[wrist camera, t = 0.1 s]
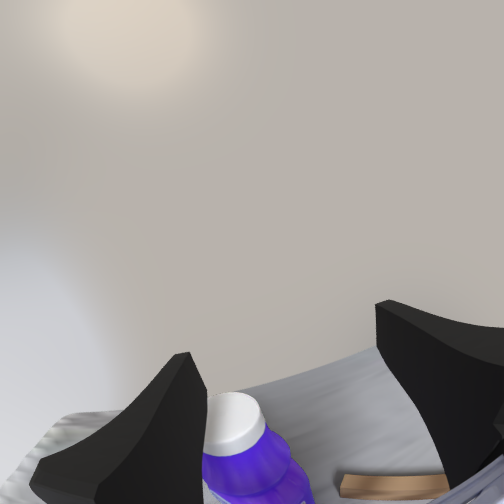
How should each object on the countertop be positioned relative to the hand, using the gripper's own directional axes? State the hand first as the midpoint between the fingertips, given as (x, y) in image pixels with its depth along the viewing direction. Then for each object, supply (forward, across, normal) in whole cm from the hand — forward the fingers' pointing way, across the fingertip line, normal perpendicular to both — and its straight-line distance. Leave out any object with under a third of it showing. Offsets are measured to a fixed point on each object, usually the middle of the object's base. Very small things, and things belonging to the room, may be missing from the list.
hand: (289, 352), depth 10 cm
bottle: (0, +4, +22) cm, 22 cm away
